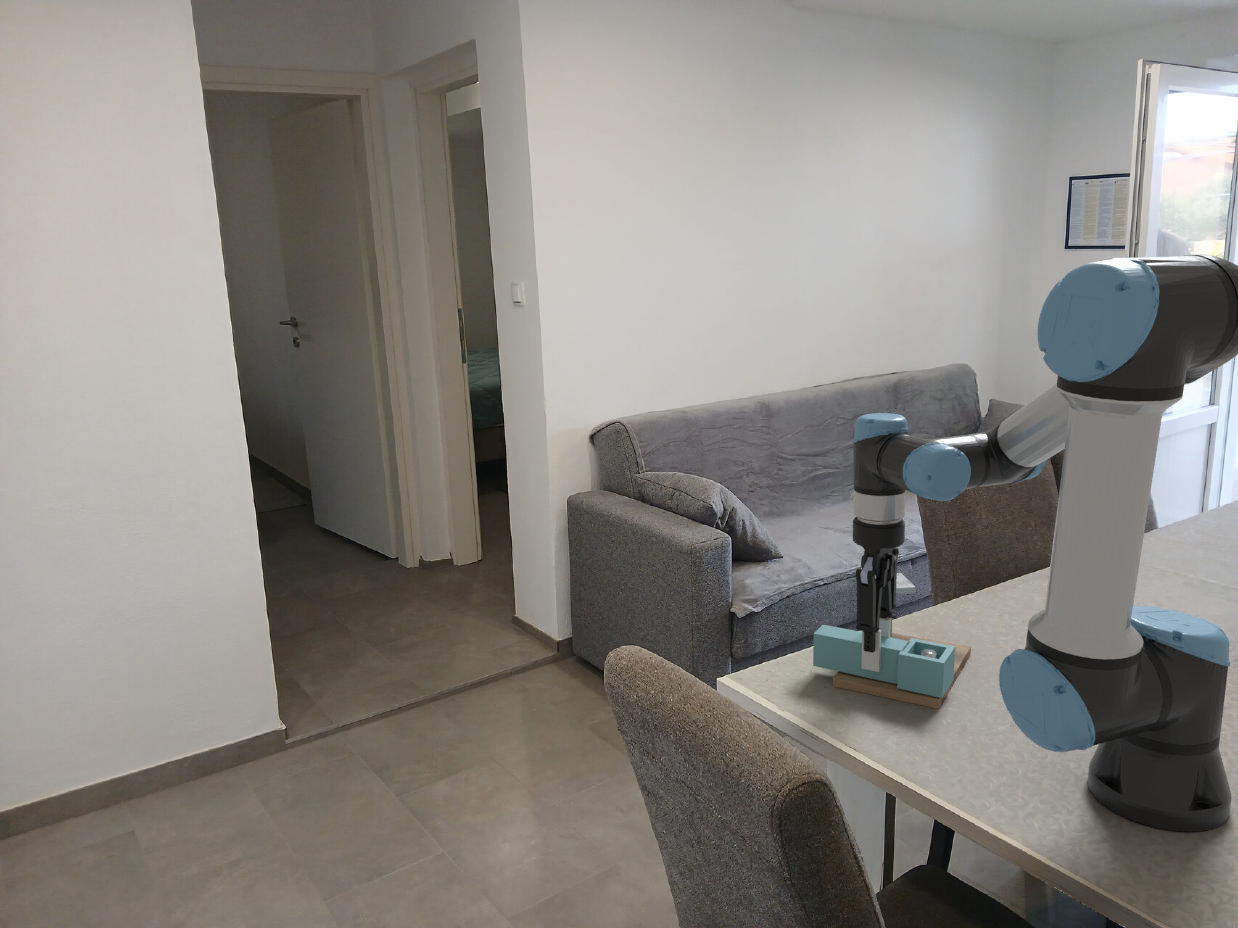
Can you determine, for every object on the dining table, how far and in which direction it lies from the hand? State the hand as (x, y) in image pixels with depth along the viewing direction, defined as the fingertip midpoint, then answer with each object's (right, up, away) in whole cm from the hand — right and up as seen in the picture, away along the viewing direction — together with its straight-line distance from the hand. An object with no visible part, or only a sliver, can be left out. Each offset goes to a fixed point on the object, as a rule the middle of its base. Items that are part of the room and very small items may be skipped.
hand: (875, 663), depth 147 cm
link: (+1, -2, 0) cm, 2 cm away
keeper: (+6, 0, +14) cm, 15 cm away
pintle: (+7, -4, -3) cm, 9 cm away
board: (+6, -2, +5) cm, 8 cm away
